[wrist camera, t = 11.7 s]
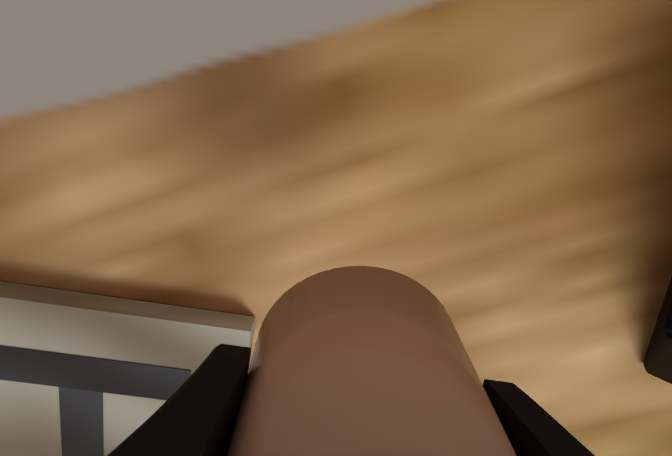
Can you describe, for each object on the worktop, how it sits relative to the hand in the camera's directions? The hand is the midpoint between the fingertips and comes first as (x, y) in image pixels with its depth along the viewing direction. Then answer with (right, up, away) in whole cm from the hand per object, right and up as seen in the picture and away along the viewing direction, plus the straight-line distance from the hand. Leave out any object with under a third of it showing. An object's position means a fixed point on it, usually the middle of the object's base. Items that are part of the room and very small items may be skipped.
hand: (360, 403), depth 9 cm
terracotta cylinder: (0, +1, +1) cm, 2 cm away
